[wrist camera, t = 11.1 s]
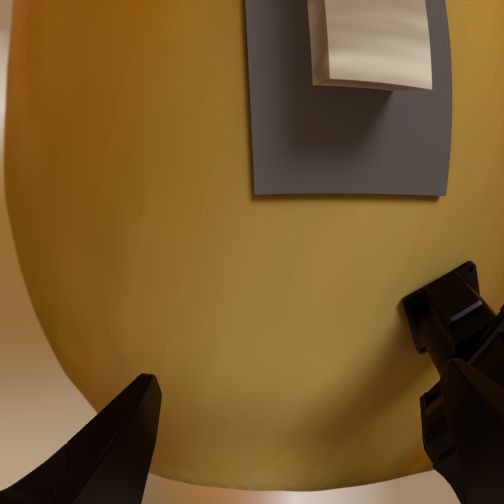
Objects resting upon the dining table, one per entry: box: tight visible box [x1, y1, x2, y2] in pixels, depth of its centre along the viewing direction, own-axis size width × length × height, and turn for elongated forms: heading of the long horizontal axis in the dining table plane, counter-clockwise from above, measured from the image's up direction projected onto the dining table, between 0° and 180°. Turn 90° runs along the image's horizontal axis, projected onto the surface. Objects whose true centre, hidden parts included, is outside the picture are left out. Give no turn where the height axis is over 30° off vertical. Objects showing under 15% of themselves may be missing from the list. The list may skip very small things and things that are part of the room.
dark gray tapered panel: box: [245, 0, 452, 196], centre depth 14 cm, size 18×12×1 cm, turn 3°
